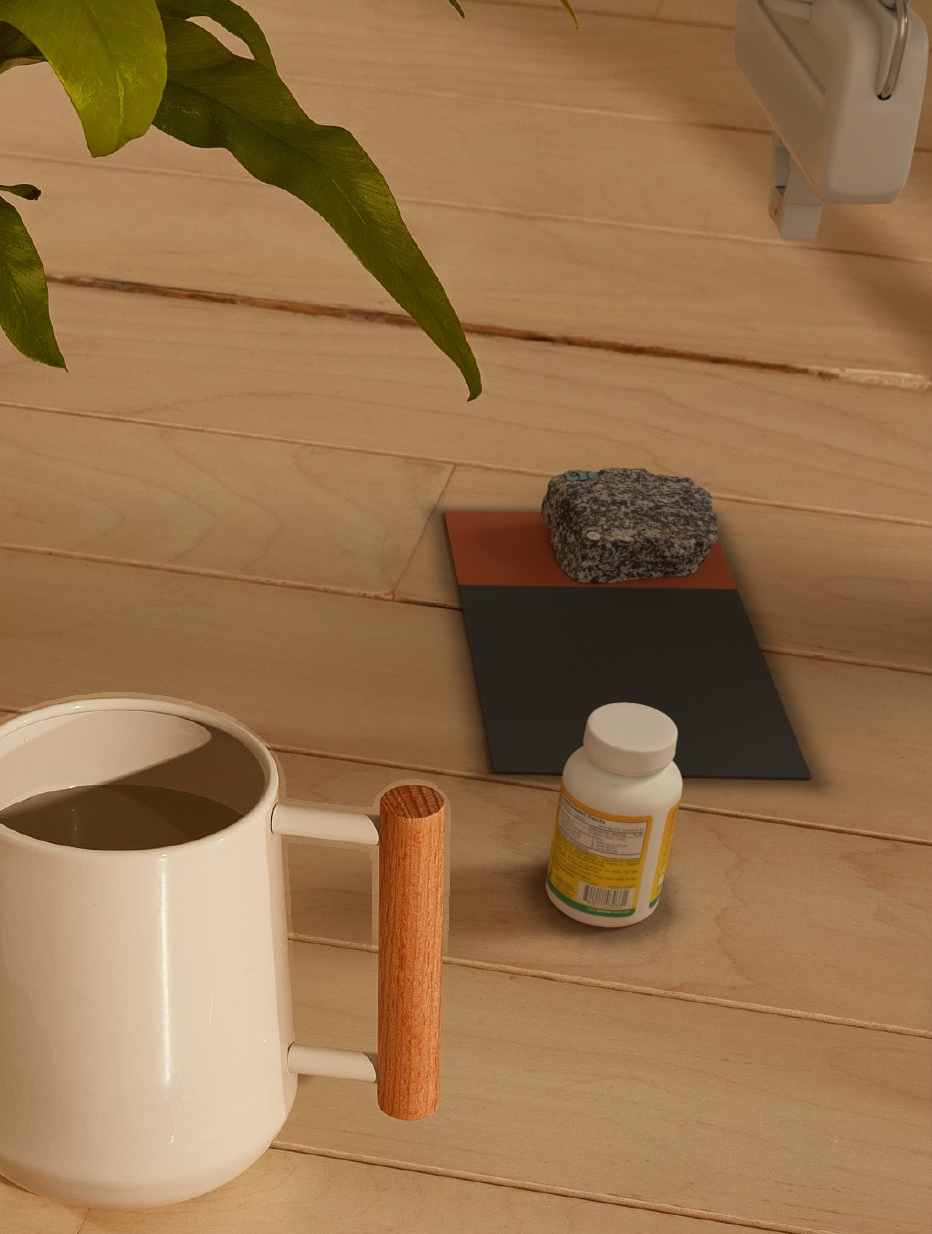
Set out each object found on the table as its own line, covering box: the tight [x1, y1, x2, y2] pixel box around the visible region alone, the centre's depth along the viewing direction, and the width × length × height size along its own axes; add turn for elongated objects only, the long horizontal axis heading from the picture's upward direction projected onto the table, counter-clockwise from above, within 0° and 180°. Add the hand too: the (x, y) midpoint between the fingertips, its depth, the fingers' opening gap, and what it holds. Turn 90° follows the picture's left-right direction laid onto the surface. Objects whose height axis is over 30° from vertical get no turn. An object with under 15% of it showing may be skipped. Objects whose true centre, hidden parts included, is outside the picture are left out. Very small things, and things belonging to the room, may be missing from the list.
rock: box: [540, 467, 719, 583], centre depth 127 cm, size 8×10×4 cm
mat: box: [443, 510, 812, 781], centre depth 121 cm, size 16×28×1 cm, turn 177°
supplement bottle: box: [545, 703, 683, 928], centre depth 99 cm, size 5×5×10 cm
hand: (790, 229), depth 105 cm, fingers closed
